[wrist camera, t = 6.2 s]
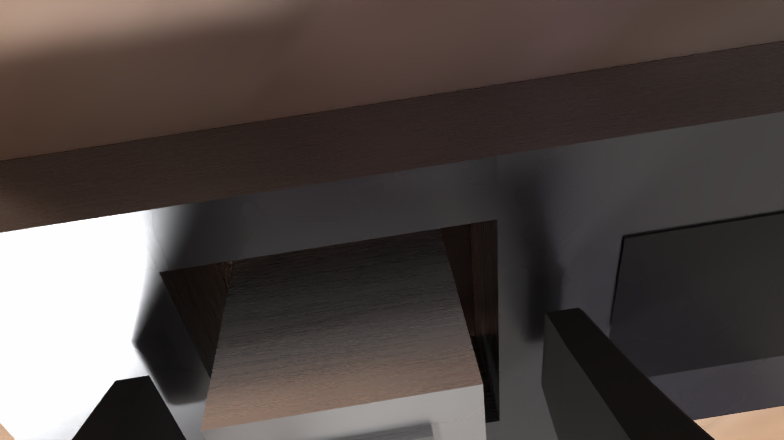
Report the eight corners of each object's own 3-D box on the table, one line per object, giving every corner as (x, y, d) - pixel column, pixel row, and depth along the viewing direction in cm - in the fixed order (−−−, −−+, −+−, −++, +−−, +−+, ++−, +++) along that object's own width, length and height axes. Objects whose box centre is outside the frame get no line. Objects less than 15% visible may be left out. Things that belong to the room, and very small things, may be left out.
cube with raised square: (429, 191, 12) (485, 392, 8) (443, 322, 14) (493, 531, 10) (241, 221, 12) (198, 440, 8) (287, 348, 14) (272, 567, 10)
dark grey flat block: (892, 24, 11) (1029, 75, 9) (774, 319, 15) (844, 398, 13) (-59, 170, 11) (-151, 257, 8) (116, 423, 15) (84, 519, 13)
